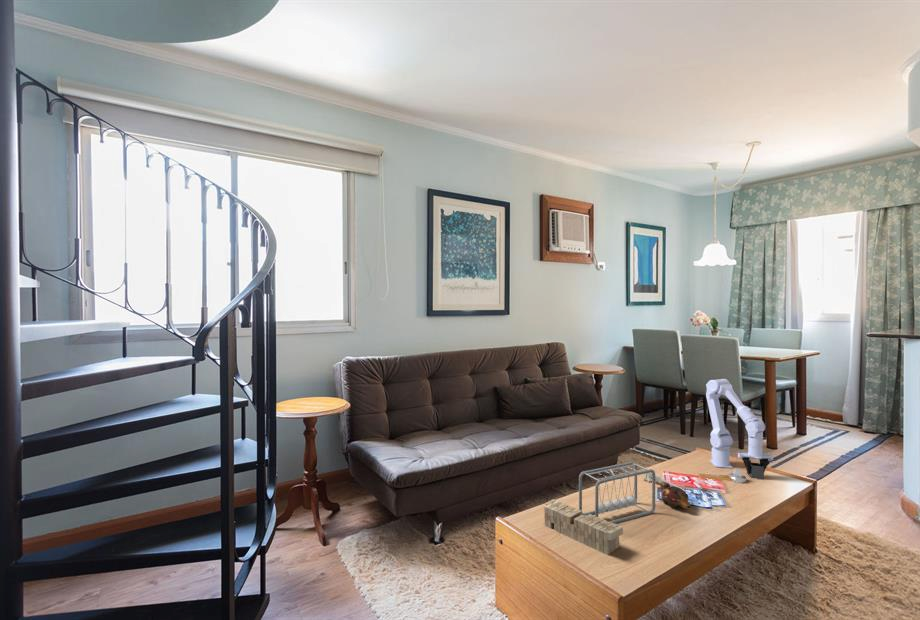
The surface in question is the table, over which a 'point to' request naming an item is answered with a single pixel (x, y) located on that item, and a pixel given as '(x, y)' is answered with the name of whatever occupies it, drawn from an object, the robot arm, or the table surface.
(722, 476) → the ratchet
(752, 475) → the hollow square tube
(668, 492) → the decorative turtle
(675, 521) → the table surface
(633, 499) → the newton's cradle
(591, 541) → the block tower
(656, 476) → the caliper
